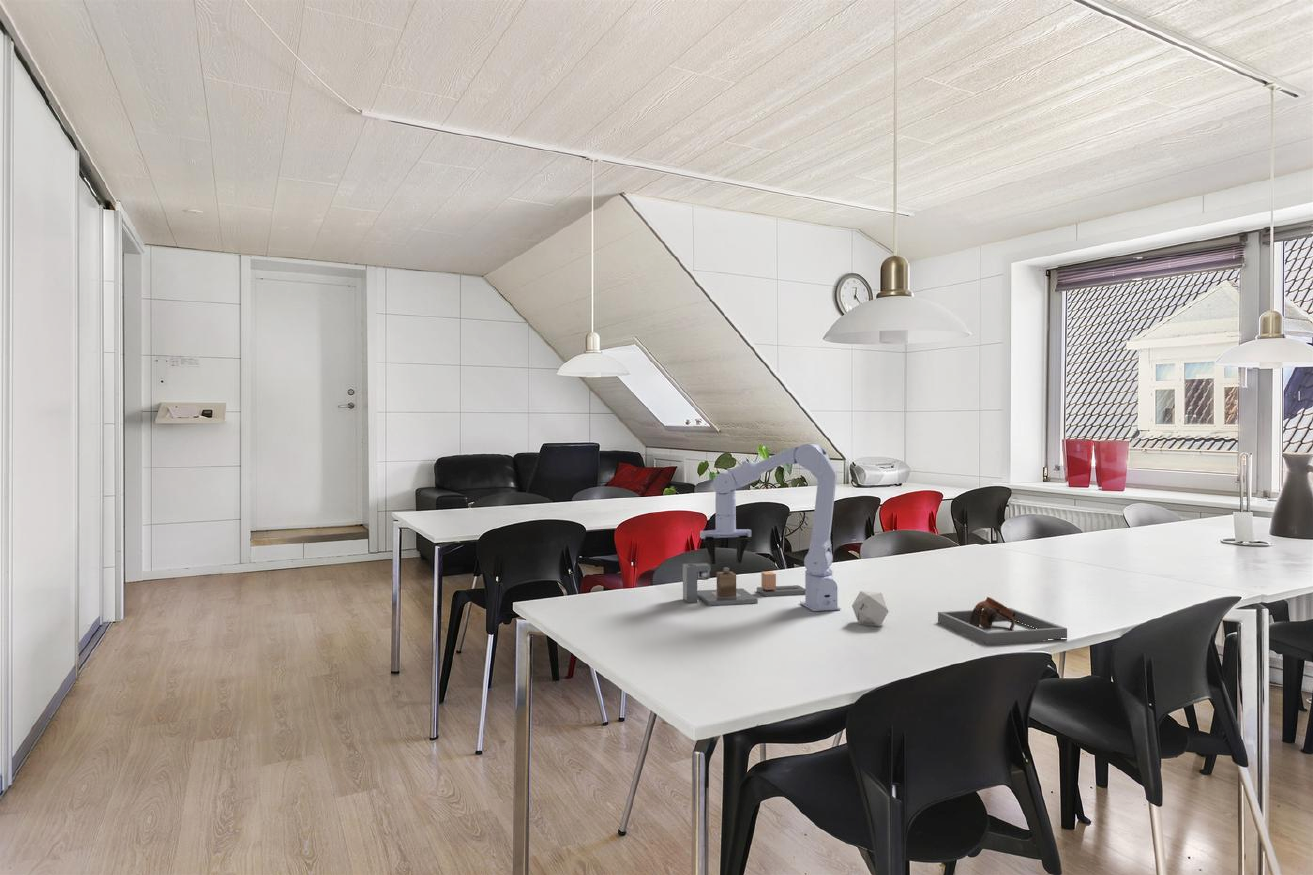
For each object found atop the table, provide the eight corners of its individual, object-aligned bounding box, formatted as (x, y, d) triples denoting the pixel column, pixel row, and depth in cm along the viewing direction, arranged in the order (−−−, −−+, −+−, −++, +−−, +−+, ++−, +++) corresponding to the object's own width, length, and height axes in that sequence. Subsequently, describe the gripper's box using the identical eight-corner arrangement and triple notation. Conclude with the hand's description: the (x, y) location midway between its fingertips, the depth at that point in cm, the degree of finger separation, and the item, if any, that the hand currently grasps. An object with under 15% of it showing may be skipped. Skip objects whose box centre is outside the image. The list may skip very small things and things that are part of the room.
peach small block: (775, 589, 220) (775, 574, 220) (766, 589, 220) (765, 574, 219) (771, 586, 224) (771, 571, 224) (761, 587, 223) (761, 571, 223)
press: (757, 603, 210) (757, 567, 210) (690, 606, 206) (690, 569, 206) (742, 592, 223) (742, 558, 223) (679, 595, 220) (679, 561, 220)
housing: (736, 595, 213) (736, 569, 213) (720, 596, 212) (720, 569, 212) (731, 592, 218) (731, 566, 218) (716, 593, 217) (716, 566, 217)
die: (847, 622, 191) (843, 597, 186) (870, 602, 194) (867, 577, 189) (872, 640, 185) (869, 614, 180) (896, 620, 188) (894, 594, 183)
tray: (1067, 639, 172) (1067, 628, 172) (987, 644, 168) (987, 633, 168) (1010, 617, 192) (1010, 607, 192) (937, 622, 188) (937, 612, 188)
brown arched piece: (968, 623, 189) (985, 594, 189) (1005, 645, 184) (1022, 616, 184) (960, 621, 179) (979, 591, 179) (999, 644, 174) (1018, 614, 174)
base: (807, 594, 220) (807, 589, 220) (764, 596, 218) (764, 591, 218) (798, 589, 227) (798, 584, 227) (756, 591, 225) (756, 586, 225)
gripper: (746, 512, 220) (746, 559, 220) (697, 514, 218) (697, 561, 218) (753, 515, 213) (753, 563, 213) (703, 517, 211) (703, 565, 211)
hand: (726, 563), depth 215 cm, fingers open, 7 cm apart
